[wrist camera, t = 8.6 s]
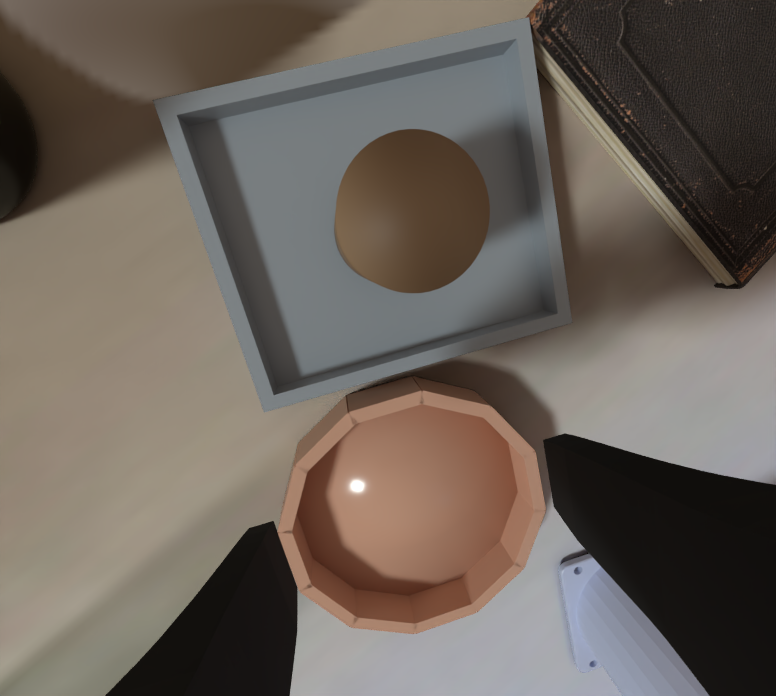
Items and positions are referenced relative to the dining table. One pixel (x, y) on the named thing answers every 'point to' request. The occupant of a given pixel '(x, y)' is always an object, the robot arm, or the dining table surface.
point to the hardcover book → (678, 111)
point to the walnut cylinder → (411, 211)
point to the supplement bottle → (15, 149)
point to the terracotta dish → (410, 506)
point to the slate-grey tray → (319, 195)
